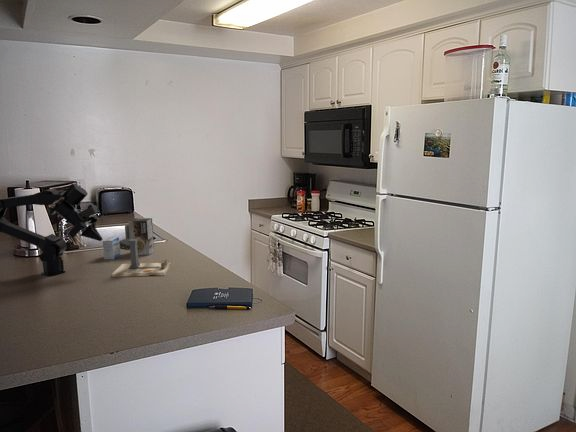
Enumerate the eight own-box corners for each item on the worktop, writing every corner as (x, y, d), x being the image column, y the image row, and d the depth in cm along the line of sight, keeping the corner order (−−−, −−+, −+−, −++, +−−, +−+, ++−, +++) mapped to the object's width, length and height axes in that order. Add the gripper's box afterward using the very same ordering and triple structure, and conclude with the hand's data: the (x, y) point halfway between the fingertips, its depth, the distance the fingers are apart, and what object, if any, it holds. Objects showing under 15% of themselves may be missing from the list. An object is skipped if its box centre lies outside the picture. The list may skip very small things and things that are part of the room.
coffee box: (154, 251, 216) (152, 218, 213) (149, 255, 209) (147, 220, 207) (136, 251, 217) (133, 217, 214) (130, 254, 210) (127, 220, 207)
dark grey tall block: (129, 268, 182) (127, 241, 180) (132, 265, 186) (130, 238, 184) (137, 268, 182) (135, 240, 180) (140, 265, 186) (138, 238, 184)
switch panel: (112, 276, 177) (111, 267, 176) (122, 266, 191) (121, 258, 190) (164, 275, 178) (164, 266, 178) (171, 265, 192) (170, 257, 191)
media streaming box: (115, 245, 230) (115, 240, 229) (142, 241, 240) (142, 235, 239) (129, 250, 219) (128, 244, 219) (156, 245, 230) (156, 239, 229)
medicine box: (113, 259, 202) (112, 240, 200) (103, 259, 202) (102, 240, 201) (120, 255, 210) (119, 236, 208) (111, 255, 210) (109, 236, 208)
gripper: (74, 202, 169) (107, 230, 172) (92, 195, 187) (121, 221, 190) (54, 223, 170) (88, 251, 172) (74, 215, 188) (104, 240, 191)
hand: (101, 240), depth 181 cm, fingers closed
